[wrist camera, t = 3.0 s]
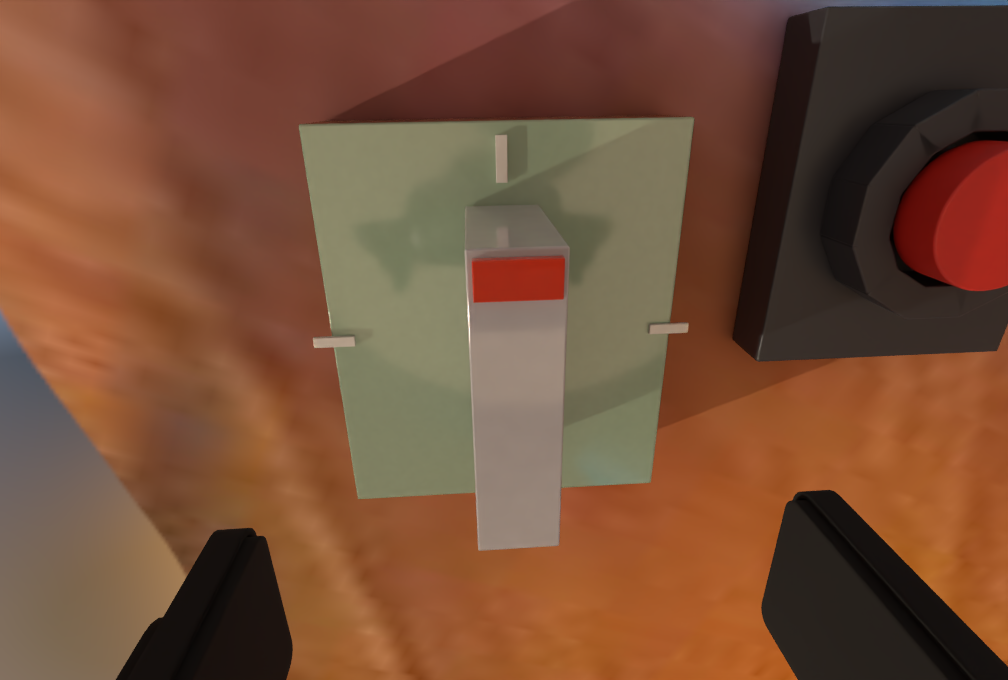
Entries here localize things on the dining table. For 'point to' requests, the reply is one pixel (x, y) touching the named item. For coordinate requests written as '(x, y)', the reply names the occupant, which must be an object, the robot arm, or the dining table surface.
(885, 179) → the button block
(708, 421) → the dining table surface
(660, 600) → the dining table surface
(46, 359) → the dining table surface
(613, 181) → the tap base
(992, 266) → the tap button
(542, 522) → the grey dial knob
